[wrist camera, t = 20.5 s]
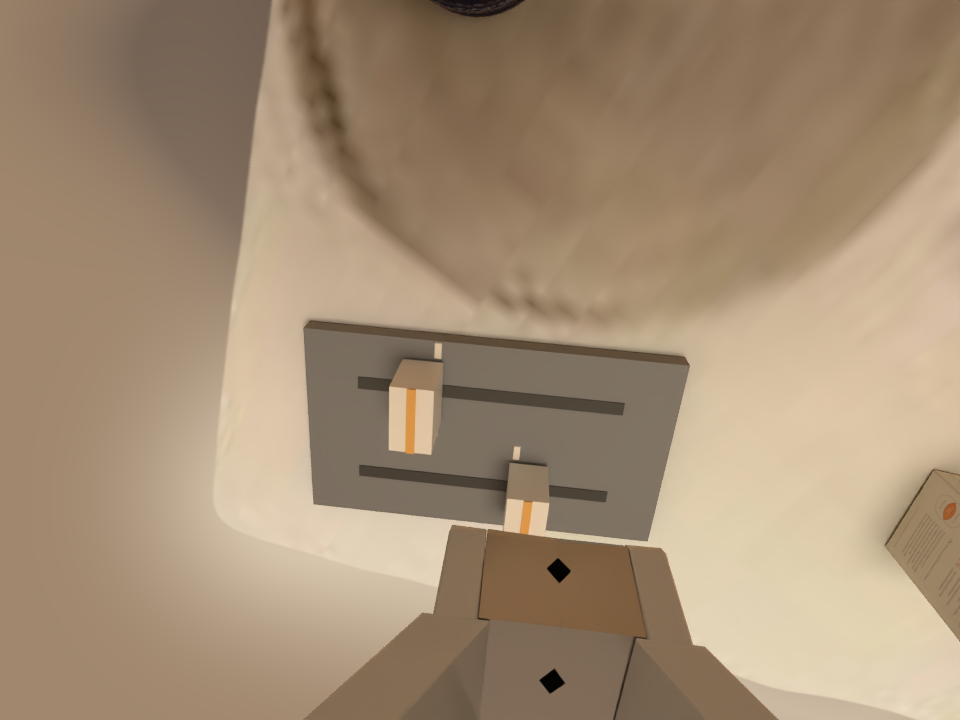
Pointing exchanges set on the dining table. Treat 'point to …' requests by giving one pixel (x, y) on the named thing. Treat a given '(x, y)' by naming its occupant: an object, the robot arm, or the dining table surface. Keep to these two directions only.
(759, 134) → the dining table surface
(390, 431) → the fader
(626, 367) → the console
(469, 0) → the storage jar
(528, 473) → the fader
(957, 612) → the small box
